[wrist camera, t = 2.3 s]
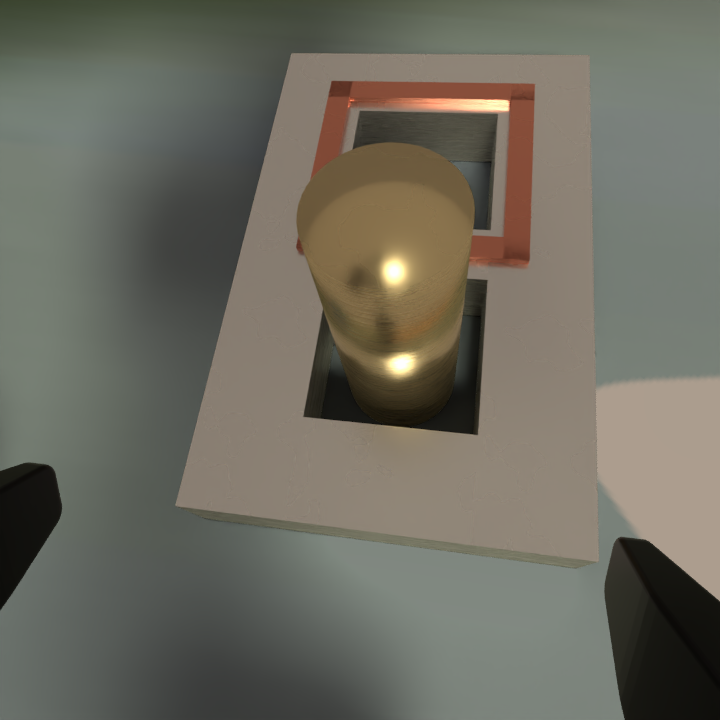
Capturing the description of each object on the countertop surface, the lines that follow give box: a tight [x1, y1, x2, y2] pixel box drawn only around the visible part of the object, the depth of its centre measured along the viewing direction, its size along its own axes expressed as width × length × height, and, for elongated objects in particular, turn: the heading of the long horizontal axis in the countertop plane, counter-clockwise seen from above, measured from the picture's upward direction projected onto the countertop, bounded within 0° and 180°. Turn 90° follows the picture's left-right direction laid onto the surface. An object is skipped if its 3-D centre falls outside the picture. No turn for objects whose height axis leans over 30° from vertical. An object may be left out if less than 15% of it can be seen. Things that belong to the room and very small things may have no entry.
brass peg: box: [296, 142, 475, 427], centre depth 19 cm, size 4×4×11 cm
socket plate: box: [175, 53, 599, 568], centre depth 24 cm, size 22×14×3 cm, turn 172°
